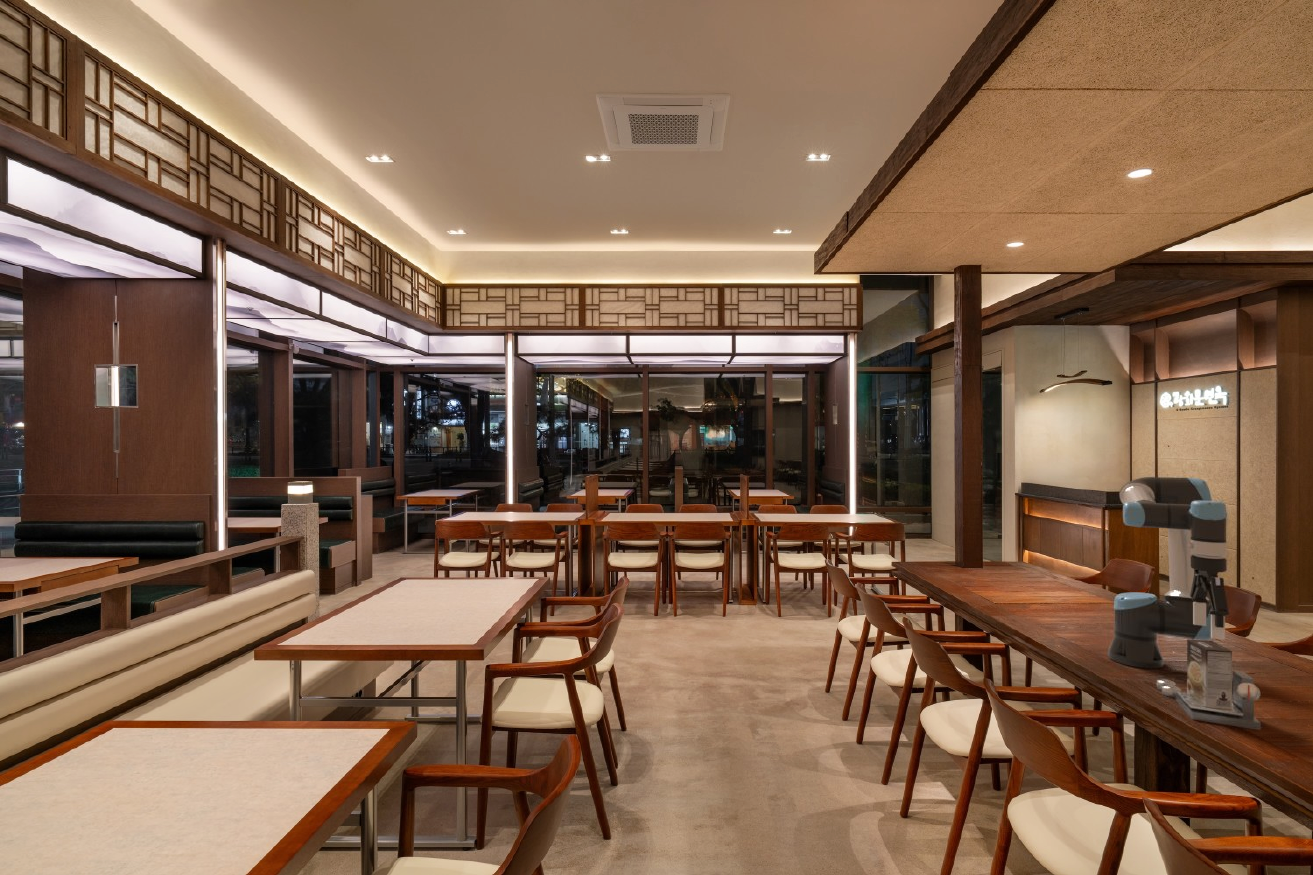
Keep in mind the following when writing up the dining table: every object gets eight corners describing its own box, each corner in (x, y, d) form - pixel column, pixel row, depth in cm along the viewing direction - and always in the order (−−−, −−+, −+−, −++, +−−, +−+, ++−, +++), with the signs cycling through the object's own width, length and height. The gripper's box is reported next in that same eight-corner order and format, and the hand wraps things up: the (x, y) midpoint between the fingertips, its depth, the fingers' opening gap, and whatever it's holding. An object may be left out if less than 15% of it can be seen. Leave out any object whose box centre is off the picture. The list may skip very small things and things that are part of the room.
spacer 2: (1159, 691, 185) (1159, 683, 185) (1178, 694, 183) (1178, 685, 183) (1164, 696, 181) (1164, 688, 181) (1183, 699, 179) (1183, 691, 179)
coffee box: (1185, 694, 175) (1185, 638, 175) (1211, 696, 173) (1211, 640, 174) (1206, 707, 166) (1205, 648, 166) (1234, 710, 164) (1233, 650, 165)
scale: (1175, 699, 179) (1175, 659, 179) (1243, 710, 172) (1243, 667, 172) (1192, 719, 166) (1192, 675, 166) (1266, 731, 159) (1266, 685, 159)
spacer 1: (1154, 685, 190) (1154, 677, 190) (1172, 688, 188) (1172, 680, 188) (1159, 690, 186) (1159, 682, 186) (1177, 693, 184) (1177, 685, 184)
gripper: (1176, 547, 183) (1176, 618, 183) (1207, 562, 161) (1207, 642, 161) (1208, 549, 180) (1209, 621, 180) (1244, 565, 158) (1245, 647, 158)
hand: (1208, 631), depth 170 cm, fingers open, 13 cm apart
